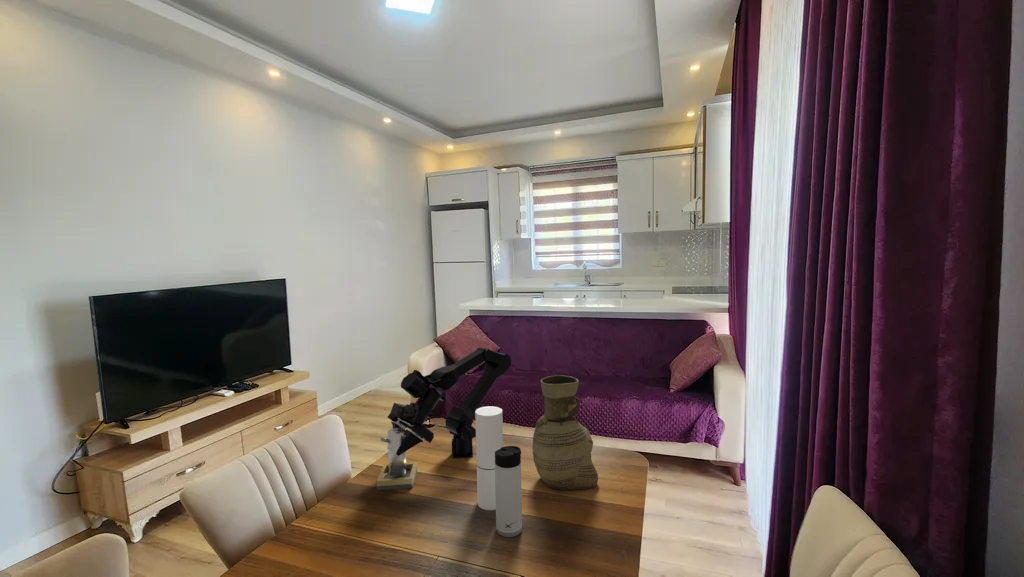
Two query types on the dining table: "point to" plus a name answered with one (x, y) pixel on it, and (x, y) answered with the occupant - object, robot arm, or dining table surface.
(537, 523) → the dining table surface
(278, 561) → the dining table surface
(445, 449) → the dining table surface
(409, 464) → the plate
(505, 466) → the travel mug
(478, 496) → the cylindrical container
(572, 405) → the ceramic vessel
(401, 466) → the spout can
